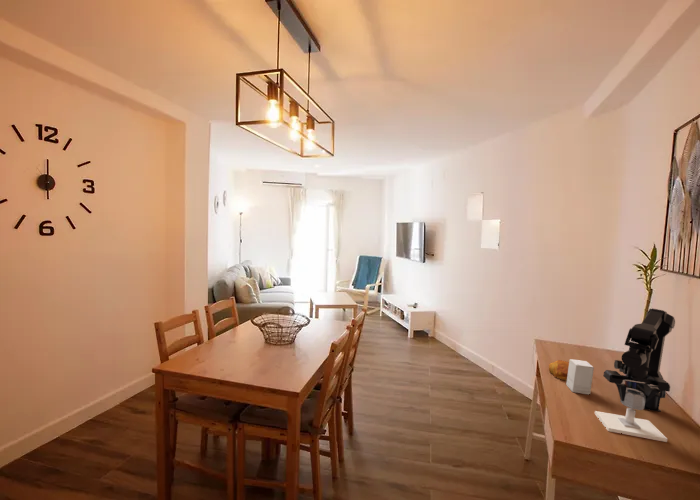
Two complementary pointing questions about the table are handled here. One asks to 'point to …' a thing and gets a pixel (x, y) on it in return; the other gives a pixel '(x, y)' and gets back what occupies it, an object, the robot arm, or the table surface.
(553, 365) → the croissant
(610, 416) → the shaft stand
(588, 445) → the table surface
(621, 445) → the table surface
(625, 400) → the tube
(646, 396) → the robot arm
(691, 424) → the table surface
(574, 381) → the supplement box
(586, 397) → the table surface
